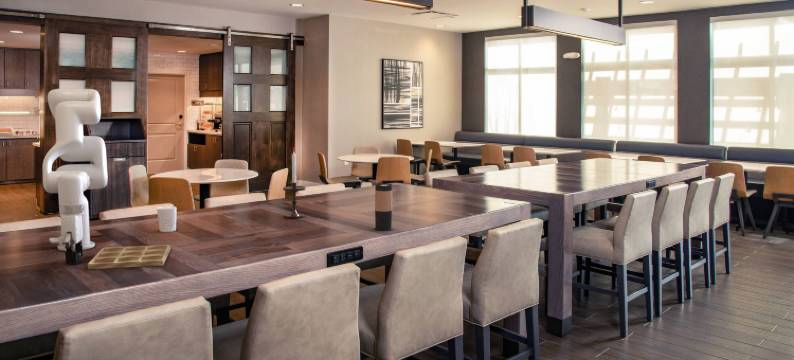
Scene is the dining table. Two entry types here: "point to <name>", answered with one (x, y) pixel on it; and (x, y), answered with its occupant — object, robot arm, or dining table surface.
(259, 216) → the dining table surface
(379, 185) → the travel mug
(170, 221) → the white cup
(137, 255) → the board
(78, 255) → the metal cylinder
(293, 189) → the candlestick
